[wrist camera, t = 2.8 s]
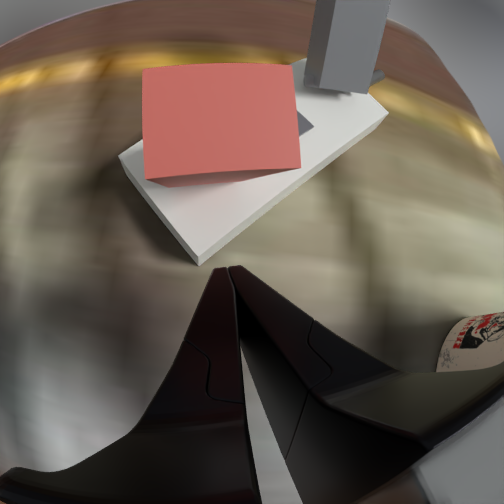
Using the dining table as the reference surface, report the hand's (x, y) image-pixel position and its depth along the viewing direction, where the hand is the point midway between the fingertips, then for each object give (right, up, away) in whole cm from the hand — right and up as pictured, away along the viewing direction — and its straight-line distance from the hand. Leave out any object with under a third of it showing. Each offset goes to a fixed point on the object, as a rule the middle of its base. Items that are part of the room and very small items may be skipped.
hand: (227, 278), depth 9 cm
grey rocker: (+7, +13, +10) cm, 18 cm away
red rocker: (-2, +6, +7) cm, 9 cm away
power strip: (+4, +11, +12) cm, 17 cm away
